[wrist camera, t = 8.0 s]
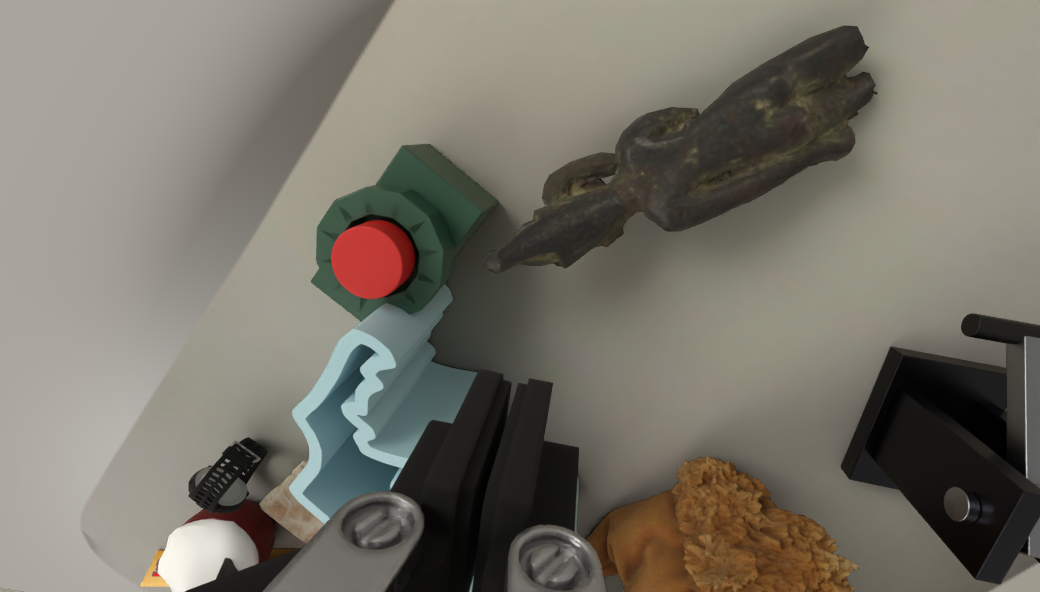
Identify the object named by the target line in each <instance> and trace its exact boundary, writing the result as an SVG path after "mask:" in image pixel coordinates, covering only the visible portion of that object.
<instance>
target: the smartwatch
mask: <svg viewBox="0 0 1040 592" xmlns="http://www.w3.org/2000/svg"><path fill="white" fill-rule="evenodd" d="M237 447H238V448H237ZM267 452H268V451H267V450H266V449H265V448H264V447H262V446H261V445H259V444H258V443H256V442H255V441H254V440H252V439H251V438H249V437H248V438H245V439H243V440H242V441H241V442H237V441H234V442H233V443H232V445H231V446H229V447H228V448H227V449H226V450H225V451H224V452H223V453H222V454H223V456H222V457H221V458H220V459H219V460H218V461H217V462H216V463H215V464H214V465H213V466H208V467H206V468H203V469H201V470H200V471H198V472H197V473H195V474H194V475H193V476H192V478H191V479H190V481H189V492H190V494H189V497H190V498H191V499H192V500H193V501H195V502H196V504H197V505H199V506H200V507H202V508H203V509H206V510H208V511H210V512H211V513H213V514H214V513H230V512H234V511H236V510H238V509H239V508H240V507H241V506H242V505H243V504H244V502H245V500H246V497H247V496H248V495H249V492H248V491H247V486H246V484H247V482H248V481H249V479H250V477H251V476H252V474H253V472H254V471H255V469H256V468H257V467H258V465H259V464H260V463H261V461H262V460H263V459H264V457H265V456H266V454H267ZM225 459H228V460H230V462H229V463H227V462H225ZM254 459H255V460H254ZM222 463H223V464H226V465H225V466H223V467H222V466H221V464H222ZM252 464H253V466H252ZM233 466H236V467H238V470H236V469H235V468H234V467H233ZM248 469H249V471H247V470H248ZM243 472H244V473H245V476H244V475H243V474H242V473H243Z"/></svg>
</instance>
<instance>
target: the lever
mask: <svg viewBox="0 0 1040 592" xmlns="http://www.w3.org/2000/svg"><path fill="white" fill-rule="evenodd" d="M961 330H962V332H963V334H964V335H966V336H968V337H974V338H979V339H985V340H990V341H996V342H1001V343H1006V394H1007V463H1009V464H1010V465H1011V466H1012V467H1014V468H1015V469H1016V470H1017V471H1019V472H1020V473H1021V474H1022V475H1024V476H1025V477H1026V478H1027V479H1029V480H1030V481H1031V482H1032V483H1034V484H1035V485H1036V486H1037V487H1039V488H1040V325H1035V324H1030V323H1024V322H1019V321H1013V320H1007V319H1002V318H996V317H991V316H985V315H979V314H969V315H967V316H966V317H965V318H964V319H963V321H962V324H961ZM1019 553H1020V554H1024V555H1027V556H1031V557H1036V558H1040V518H1039V519H1038V521H1037V523H1036V525H1035V526H1034V528H1033V530H1032V531H1031V533H1030V535H1029V537H1028V538H1027V540H1026V542H1025V543H1024V545H1023V547H1022V548H1021V550H1020V552H1019Z"/></svg>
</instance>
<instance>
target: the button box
mask: <svg viewBox="0 0 1040 592" xmlns="http://www.w3.org/2000/svg"><path fill="white" fill-rule="evenodd" d="M497 203H498V201H497V200H496V199H495V198H494V197H493V196H491V195H490V194H489V193H488V192H487V191H485V190H484V189H483V188H482V187H481V186H479V185H478V184H477V183H476V182H475V181H473V180H472V179H471V178H470V177H469V176H467V175H466V174H465V173H464V172H463V171H461V170H460V169H459V168H458V167H456V166H455V165H454V164H453V163H452V162H450V161H449V160H448V159H447V158H446V157H444V156H443V155H442V154H441V153H440V152H438V151H437V150H436V149H435V148H434V147H432V146H431V145H430V144H420V145H404V146H401V148H400V149H399V151H398V152H397V154H396V155H395V157H394V158H393V160H392V161H391V163H390V164H389V166H388V167H387V169H386V170H385V172H384V173H383V175H382V176H381V178H380V179H379V181H378V182H377V184H376V185H374V186H370V187H366V188H363V189H360V190H358V191H355V192H353V193H351V194H348V195H346V196H344V197H341V198H339V199H336V200H335V201H334V202H333V204H332V205H331V207H330V208H329V210H328V211H327V213H326V214H325V216H324V217H323V219H322V220H321V222H320V224H319V225H318V227H317V248H316V261H317V264H318V266H319V270H318V271H317V273H316V274H315V276H314V277H313V279H312V280H311V283H312V284H314V285H315V286H316V287H318V288H319V289H320V290H321V291H323V292H324V293H325V294H327V295H328V296H329V297H330V298H332V299H333V300H334V301H336V302H337V303H338V304H339V305H341V306H342V307H343V308H344V309H346V310H347V311H348V312H350V313H351V314H352V315H353V316H355V317H356V318H357V319H359V320H360V321H361V322H362V321H363V320H364V319H365V318H367V317H368V316H369V315H370V314H372V313H373V312H374V311H375V310H377V309H378V308H379V307H381V306H382V305H384V304H386V303H388V304H391V305H394V306H396V307H398V308H401V309H403V310H404V311H405V312H407V313H408V314H412V313H415V312H418V311H420V310H422V309H423V308H424V307H425V306H426V305H427V304H428V303H429V302H430V301H431V300H432V299H433V298H434V296H435V295H436V294H437V293H438V291H439V290H440V289H441V288H442V286H443V285H444V284H445V282H446V281H447V280H448V279H449V277H450V275H451V267H452V261H453V260H454V258H455V257H456V256H457V255H458V253H459V252H460V251H461V249H462V248H463V247H464V246H465V244H466V243H467V242H468V240H469V239H470V238H471V237H472V235H473V234H474V233H475V231H476V230H477V229H478V228H479V226H480V225H481V224H482V222H483V221H484V220H485V219H486V217H487V216H488V215H489V213H490V212H491V211H492V210H493V208H494V207H495V206H496V205H497ZM372 220H383V221H387V222H390V223H392V224H394V225H396V226H398V227H399V228H400V229H401V230H403V231H404V232H405V234H406V235H407V236H408V237H409V239H410V241H411V243H412V245H413V248H414V252H415V265H414V269H413V272H412V274H411V275H410V277H409V278H408V279H407V281H405V282H404V283H403V284H402V285H401V286H399V287H398V288H397V289H395V290H394V291H393V292H392V293H390V294H389V295H387V296H385V297H382V298H378V299H366V298H361V297H358V296H356V295H354V294H352V293H351V292H349V291H348V290H347V289H345V288H344V287H343V286H342V284H341V283H340V282H339V281H338V279H337V277H336V275H335V273H334V271H333V267H332V261H331V256H332V250H333V246H334V244H335V242H336V240H337V239H338V237H339V236H340V235H341V234H342V233H343V232H345V231H346V230H348V229H350V228H352V227H355V226H357V225H360V224H363V223H365V222H368V221H372Z"/></svg>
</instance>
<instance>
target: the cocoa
mask: <svg viewBox="0 0 1040 592" xmlns="http://www.w3.org/2000/svg"><path fill="white" fill-rule="evenodd" d="M274 540H275V536H274V526H273V522H272V520H271V518H270V517H269V515H268V514H267V513H265V512H264V511H263V510H262V509H261V506H259V505H258V504H257V503H255V502H254V501H250V500H245V502H244V504H243V505H242V506H241V507H240V508H239V509H238V510H236V511H234V512H230V513H214V514H213V513H211V512H210V511H208V510H206V509H203V510H202V511H200V512H199V513H198V514H196V515H195V516H193V517H192V518H191V519H189V520H188V521H187V522H186V523H185V524H183V525H182V526H181V527H179V528H177V529H176V530H175V531H174V532H173V533H172V534H171V535H169V538H168V542H167V547H166V549H165V551H164V553H163V555H162V556H161V558H160V560H159V564H158V574H159V575H160V576H161V577H162V578H163V579H164V580H165V582H166V583H167V584H168V585H169V587H170V588H171V590H172V592H185V591H187V590H189V589H192V588H194V587H197V586H200V585H202V584H205V583H208V582H210V581H213V580H216V579H219V578H221V577H224V576H227V575H229V574H232V573H235V572H237V571H240V570H243V569H245V568H248V567H251V566H253V565H256V564H259V563H261V562H264V561H267V560H268V558H269V555H270V553H271V550H272V548H273V544H274Z"/></svg>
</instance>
